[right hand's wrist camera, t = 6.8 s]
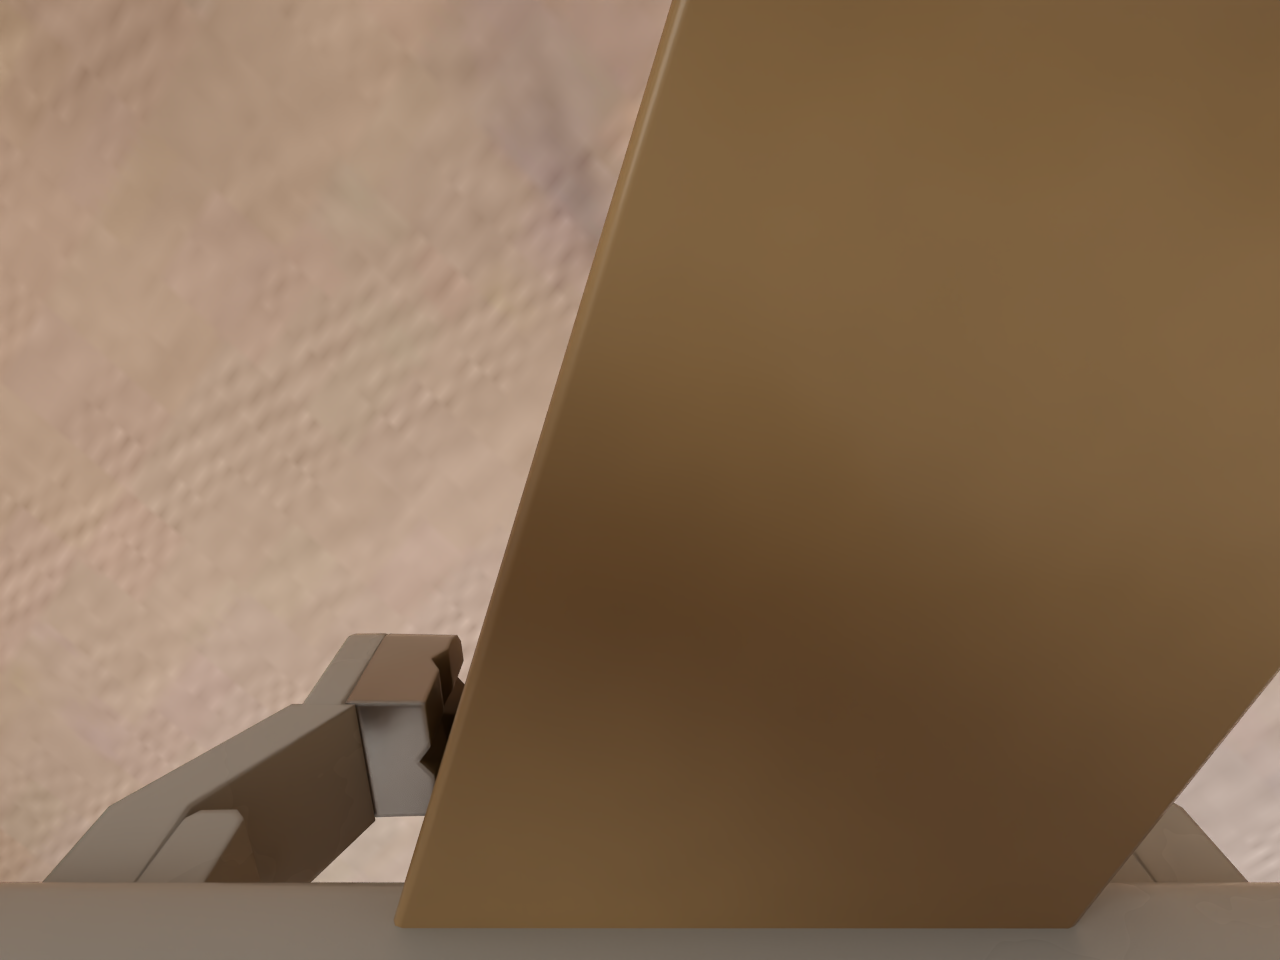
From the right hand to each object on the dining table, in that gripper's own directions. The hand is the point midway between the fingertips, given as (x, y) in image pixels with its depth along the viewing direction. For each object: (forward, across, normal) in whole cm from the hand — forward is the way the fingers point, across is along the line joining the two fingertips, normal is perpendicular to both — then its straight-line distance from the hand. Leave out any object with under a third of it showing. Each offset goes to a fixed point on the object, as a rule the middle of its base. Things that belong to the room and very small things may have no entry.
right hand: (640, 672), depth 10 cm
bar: (+4, -2, -7) cm, 8 cm away
